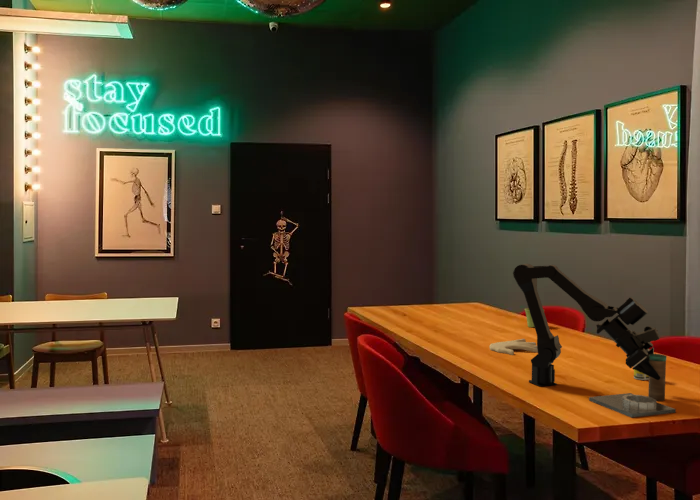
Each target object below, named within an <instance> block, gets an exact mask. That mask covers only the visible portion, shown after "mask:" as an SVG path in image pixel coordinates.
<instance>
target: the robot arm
mask: <svg viewBox="0 0 700 500" xmlns="http://www.w3.org/2000/svg"><path fill="white" fill-rule="evenodd" d="M512 271H513V272H512V274H513V278H514V280H515V282H516V284H517V286H518V287H519V288H520V290H521V291H522V293H523V295H524V298H525V302H526V303H527V308H529V311H530V314H531V318H532V321H533V324H534V327H533V328H534V330H535V334H536V346H537V349H538V352H537V354H536V355H535V356H534V357H533V358H531V359H530V363H531V379H529V380H528V382H529V383H530V384H532V385H533V384H534V385H535V386H538V387H547V386H549V387H551V386H557V383H556V382H555V381H556V377H555V376H556V375H555V374H556V370H555V365H554V364H553V363H554V362H555V360H557V359H558V358H559V357H560V355H561V352H562V351H561V350H562V348H563V346H562V344H561V343H560V337H559V335H558V334H557V335H555V336H554V335H553V333H552V332H551V329H550V326H549V324H548V320H547V317H546V313H545V309H544V307H543V305H542V301H541V298H540V295H539V291H538V279H546V278H548V279H549V280H551V281H552V282H553V283H554V284H555V285H557V287H559V289H561V290H562V291H564V292H565V294H567V295H568V296H569V297H571V299H573V300H574V302H576V303H577V304H578V305H579V306H580V308H581V309H582V311H583V312H584V314H585V315H586V317H588V318H589V320H591V321H593V322H602V321H603V320H604V321H603V322H602V323H597V324H596V334H600V333H601V332H602V331H604V332H605V333H606V334H607V335H608V337H609V338H611V340H612V341H613V342H614V343H615V346H616V348H620V349H621V350H622V351H623V352H624V353H625V354H626V355H625V357H626V358H625V365H626V366H627V367H628V368H629V369H632V370H633V371H634V370H637V371H639V372H641V373H643V374H646V375H648V376H650V377H652V378H654V379H656V380H659V379H661V377H660V376H659V374H658V373H657V371H656V370H655V368H654V367H653V366H652V364H651V363H650V355H649V354H655V352H654V350H655V347H654V344H653V343H652V342H653V341H654V342H656V341H658V340H660V338H661V336H660V334H659V332H658V329H657V327H652V326H651V325H650V324H649V325H646V326H644V328H643V331H641V332H639V333H637V332H636V331H635V330H631V329H629V327H628V326H629V325H632V326H635V325H636V324H637V323H638V322H640V321H641V320H642V319H643V318H644V317H646V316H647V315H648V314H649V311H648V310H647V309H646V308H645V307H644V306H643V304H642V303H640V302H638V300H636V299H634V298H633V297H632V296H630V297H628V299H626V300H625V302H623V303H622V305H620V306H619V307H618V306H612V305H609V304H607V303H606V302H605V301H603V300H601V299H600V298H598V297H596V296H594V295H592V294H590V293H588V292H587V291H586V290H584V289H583V288H582V287H580V286H579V285H578V284H577V283H576V282H574V280H572V279H571V278H570V277H569V276H568V275H566V274H565V273H564V272H563V271H562V270H560V269H559V267H558V266H557V265H555V264H548V265H537V266H533V265H532V264H530V263H522V264H519V265H517V266H516V267H515V268H514V269H513V270H512ZM616 314H617V315H616ZM614 316H615V317H614ZM612 317H614V318H613V319H611V318H612ZM606 318H607V319H606ZM605 319H606V320H605ZM634 365H635V366H634Z"/></svg>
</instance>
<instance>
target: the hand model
mask: <svg viewBox="0 0 700 500" xmlns="http://www.w3.org/2000/svg"><path fill="white" fill-rule="evenodd" d="M488 347H489V350H490V351H493V352H497V353H500V354H506V355H509V356H514V355H515V352H514V350H524V351H527V352H532V353H538V349H537V342H532V341H531V342H530V341H527V340H526V339H525V338H520V339H515V340H513V339H512V340H507V341H498V342H493V343H490V345H489V346H488Z"/></svg>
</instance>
